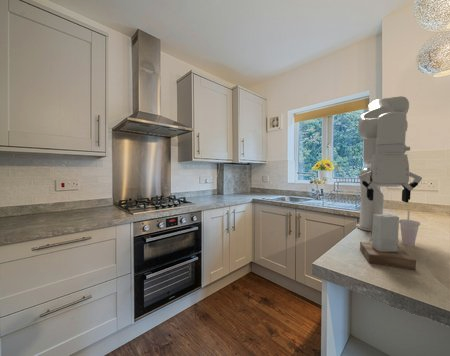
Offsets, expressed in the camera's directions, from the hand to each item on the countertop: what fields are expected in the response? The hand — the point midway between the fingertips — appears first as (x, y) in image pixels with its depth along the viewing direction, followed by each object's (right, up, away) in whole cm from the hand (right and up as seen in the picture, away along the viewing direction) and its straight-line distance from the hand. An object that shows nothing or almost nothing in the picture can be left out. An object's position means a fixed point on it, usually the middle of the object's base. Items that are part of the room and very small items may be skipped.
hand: (387, 200), depth 70 cm
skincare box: (0, -17, +1) cm, 17 cm away
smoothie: (+20, -20, +14) cm, 32 cm away
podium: (0, -20, +1) cm, 20 cm away
